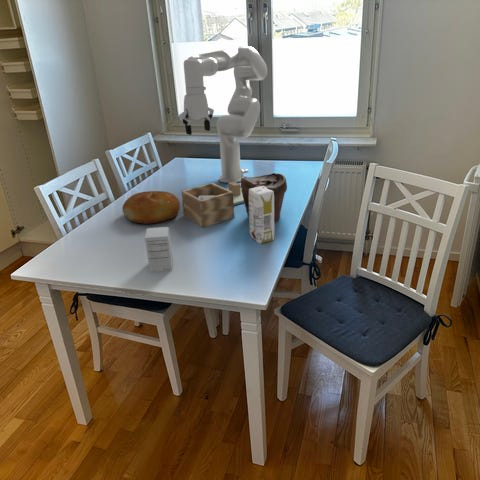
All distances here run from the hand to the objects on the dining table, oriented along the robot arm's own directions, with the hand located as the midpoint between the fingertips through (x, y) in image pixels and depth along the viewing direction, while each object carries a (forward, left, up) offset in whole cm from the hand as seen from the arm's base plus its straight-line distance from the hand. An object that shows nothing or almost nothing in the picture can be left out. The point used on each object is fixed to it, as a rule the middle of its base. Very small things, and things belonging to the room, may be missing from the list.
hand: (198, 132), depth 191 cm
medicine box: (+11, +23, -29) cm, 39 cm away
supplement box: (+45, +47, -29) cm, 71 cm away
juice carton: (+7, +53, -29) cm, 61 cm away
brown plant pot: (-5, +38, -29) cm, 48 cm away
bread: (+28, +6, -30) cm, 41 cm away
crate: (+11, +23, -29) cm, 39 cm away
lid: (-10, +12, -29) cm, 32 cm away
